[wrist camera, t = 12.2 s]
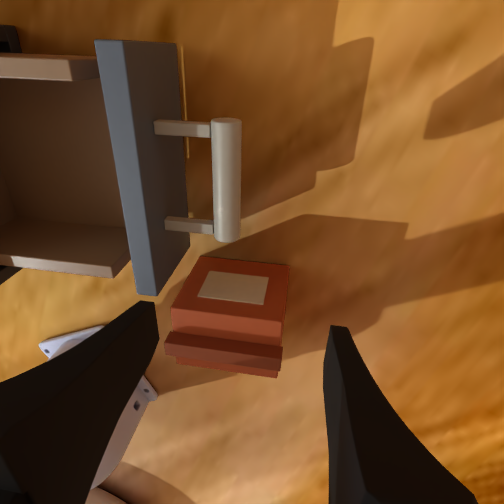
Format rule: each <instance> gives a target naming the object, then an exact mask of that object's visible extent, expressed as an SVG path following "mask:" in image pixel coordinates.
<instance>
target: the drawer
mask: <svg viewBox="0 0 504 504" xmlns="http://www.w3.org/2000/svg"><path fill="white" fill-rule="evenodd" d="M94 43H95V49H96V55H97V56H79V55H52V54H26V53H0V265H5V266H13V267H22V268H30V269H38V270H46V271H55V272H63V273H71V274H80V275H88V276H96V277H104V278H115V277H116V275H117V274H118V273H119V272H120V271H121V270H122V269H123V268H124V266H125V265H126V264H127V263H128V262H129V261H130V260H131V261H132V267H133V273H134V279H135V284H136V290H137V294H141V295H149V296H158V295H159V293H160V292H161V290H162V288H163V287H164V285H165V284H166V282H167V281H168V279H169V278H170V276H171V275H172V273H173V272H174V270H175V269H176V267H177V265H178V264H179V262H180V261H181V259H182V258H183V256H184V255H185V253H186V252H187V250H188V249H189V247H190V235H189V232H192V233H202V234H214V237H215V239H216V240H217V241H220V242H224V243H230V242H235V241H237V240H238V239H239V238H240V218H241V142H242V121H241V120H240V119H237V118H228V117H222V118H214V119H212V120H211V122H195V121H182V119H181V105H180V90H179V76H178V61H177V47H176V44H175V43H163V42H147V41H131V40H107V39H95V40H94ZM183 136H187V137H203V138H210V137H211V143H212V178H213V212H214V220H205V219H194V218H188V206H187V191H186V177H185V162H184V148H183Z"/></svg>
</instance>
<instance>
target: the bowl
mask: <svg viewBox="0 0 504 504" xmlns="http://www.w3.org/2000/svg"><path fill="white" fill-rule="evenodd" d="M85 504H127V503H125V502H124V501H122V500H121V499H119V498H117V497H116V496H114V495H112V494H110V493H108V492H106V491H104V490H102V489H100V488H98V487H95V488H93V489H91V490H90V491H89V494H88V497H87V500H86V502H85Z"/></svg>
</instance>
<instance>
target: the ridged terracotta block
mask: <svg viewBox="0 0 504 504" xmlns="http://www.w3.org/2000/svg"><path fill="white" fill-rule="evenodd" d="M288 277H289V266H287V265H278V264H268V263H259V262H250V261H241V260H231V259H222V258H213V257H204V256H200V257H199V259H198V260H197V262H196V264H195V266H194V267H193V269H192V271H191V273H190V274H189V276H188V278H187V280H186V281H185V283H184V285H183V287H182V288H181V290H180V292H179V294H178V295H177V297H176V299H175V301H174V302H173V304H172V306H171V308H170V309H171V318H172V326H173V332H172V331H170V333H169V335H168V337H167V338H166V340H165V342H164V345H165V352H166V355H170V356H176V361H177V364H184V365H190V366H197V367H204V368H210V369H217V370H224V371H231V372H237V373H244V374H251V375H257V376H264V377H271V378H277V376H278V371H280V369H281V360H282V350H283V347H281V343H282V335H283V326H284V318H285V308H286V298H287V288H288Z"/></svg>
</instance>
